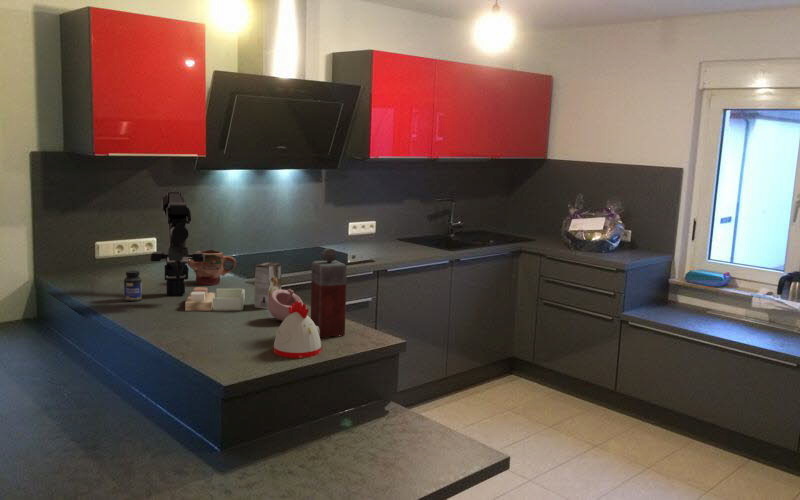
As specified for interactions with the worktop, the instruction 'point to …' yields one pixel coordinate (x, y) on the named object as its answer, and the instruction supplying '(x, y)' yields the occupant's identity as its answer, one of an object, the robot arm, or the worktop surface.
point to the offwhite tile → (198, 296)
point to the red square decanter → (328, 294)
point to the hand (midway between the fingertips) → (178, 279)
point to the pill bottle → (132, 286)
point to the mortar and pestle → (282, 303)
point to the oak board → (200, 303)
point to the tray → (229, 299)
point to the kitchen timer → (297, 334)
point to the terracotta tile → (201, 290)
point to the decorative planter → (211, 267)
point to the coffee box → (266, 282)
